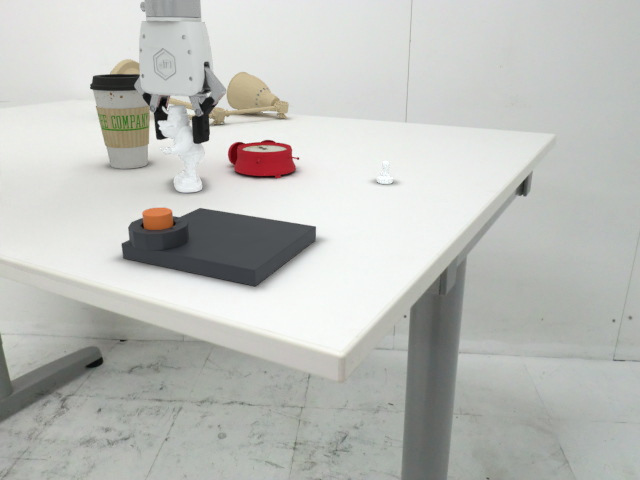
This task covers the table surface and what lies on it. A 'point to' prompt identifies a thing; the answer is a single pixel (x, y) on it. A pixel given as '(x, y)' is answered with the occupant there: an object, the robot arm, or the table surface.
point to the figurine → (183, 147)
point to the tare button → (157, 218)
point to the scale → (220, 244)
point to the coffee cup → (122, 119)
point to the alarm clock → (262, 158)
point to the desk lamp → (228, 95)
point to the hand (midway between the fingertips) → (182, 139)
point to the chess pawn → (385, 174)
